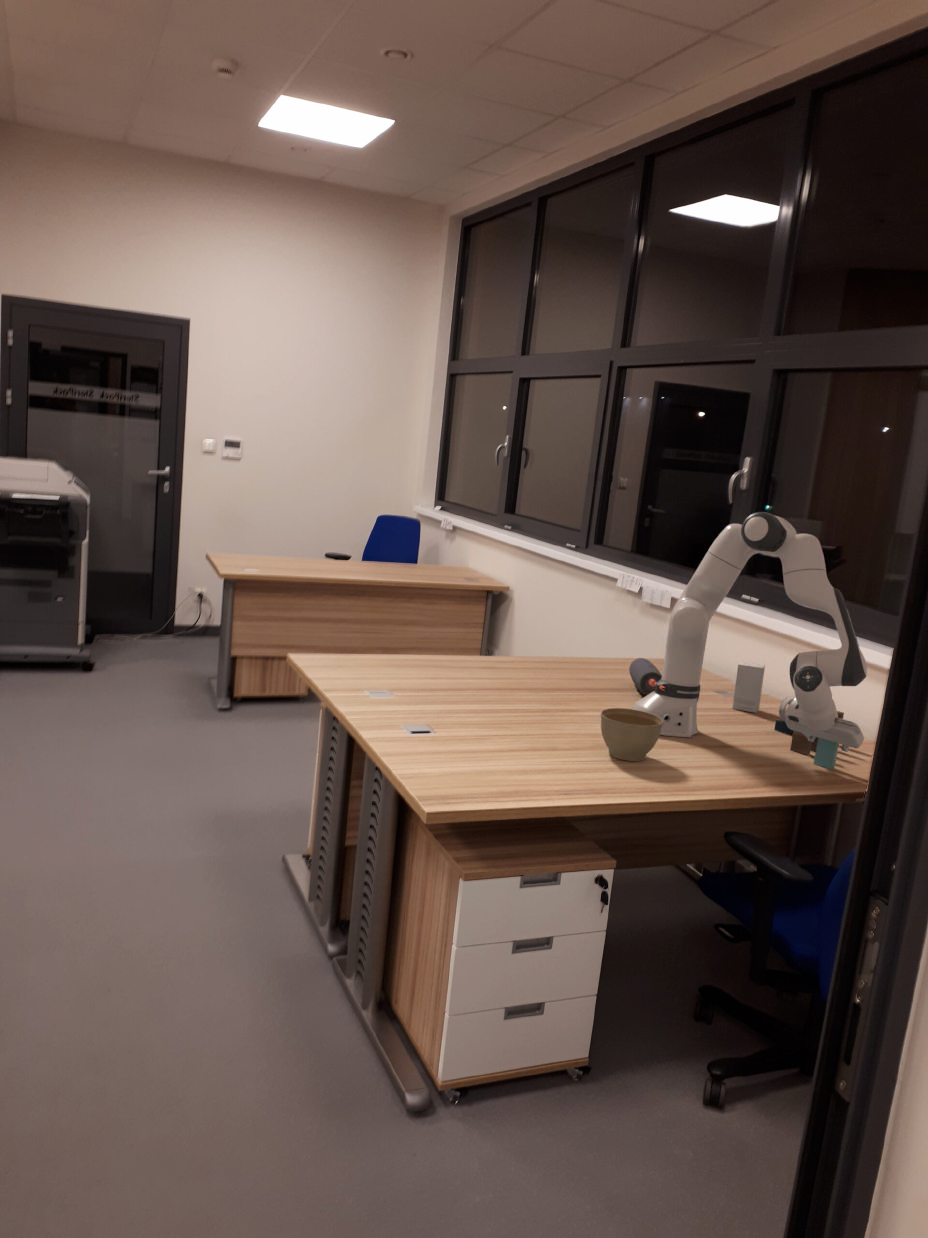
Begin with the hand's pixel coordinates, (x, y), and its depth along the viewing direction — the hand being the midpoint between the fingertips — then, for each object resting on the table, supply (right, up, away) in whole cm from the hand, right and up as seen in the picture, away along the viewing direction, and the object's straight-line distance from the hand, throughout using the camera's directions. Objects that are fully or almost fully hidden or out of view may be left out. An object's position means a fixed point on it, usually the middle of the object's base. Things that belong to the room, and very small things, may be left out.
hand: (828, 744), depth 259 cm
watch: (0, -1, +34) cm, 34 cm away
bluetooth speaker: (-38, +9, +68) cm, 78 cm away
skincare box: (-6, +4, +58) cm, 58 cm away
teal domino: (-1, -6, +1) cm, 6 cm away
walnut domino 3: (+10, -3, +26) cm, 28 cm away
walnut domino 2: (+1, -4, +17) cm, 17 cm away
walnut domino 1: (-4, -4, +12) cm, 13 cm away
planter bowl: (-57, -2, -11) cm, 58 cm away
